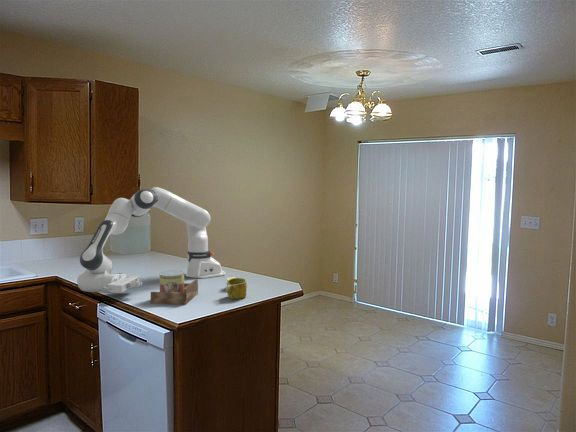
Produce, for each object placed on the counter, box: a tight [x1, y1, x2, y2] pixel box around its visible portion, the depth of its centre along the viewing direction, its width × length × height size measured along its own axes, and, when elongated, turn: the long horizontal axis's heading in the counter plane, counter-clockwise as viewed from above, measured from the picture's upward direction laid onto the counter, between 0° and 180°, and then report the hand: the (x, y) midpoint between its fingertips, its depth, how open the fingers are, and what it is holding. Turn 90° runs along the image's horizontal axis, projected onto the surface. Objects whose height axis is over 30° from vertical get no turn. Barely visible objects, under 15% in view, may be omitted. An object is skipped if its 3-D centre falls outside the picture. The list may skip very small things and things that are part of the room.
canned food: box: [158, 270, 185, 293], centre depth 201 cm, size 11×11×12 cm
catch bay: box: [150, 278, 199, 305], centre depth 202 cm, size 16×18×7 cm
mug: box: [225, 277, 248, 300], centre depth 204 cm, size 12×10×10 cm
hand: (140, 284), depth 203 cm, fingers closed
